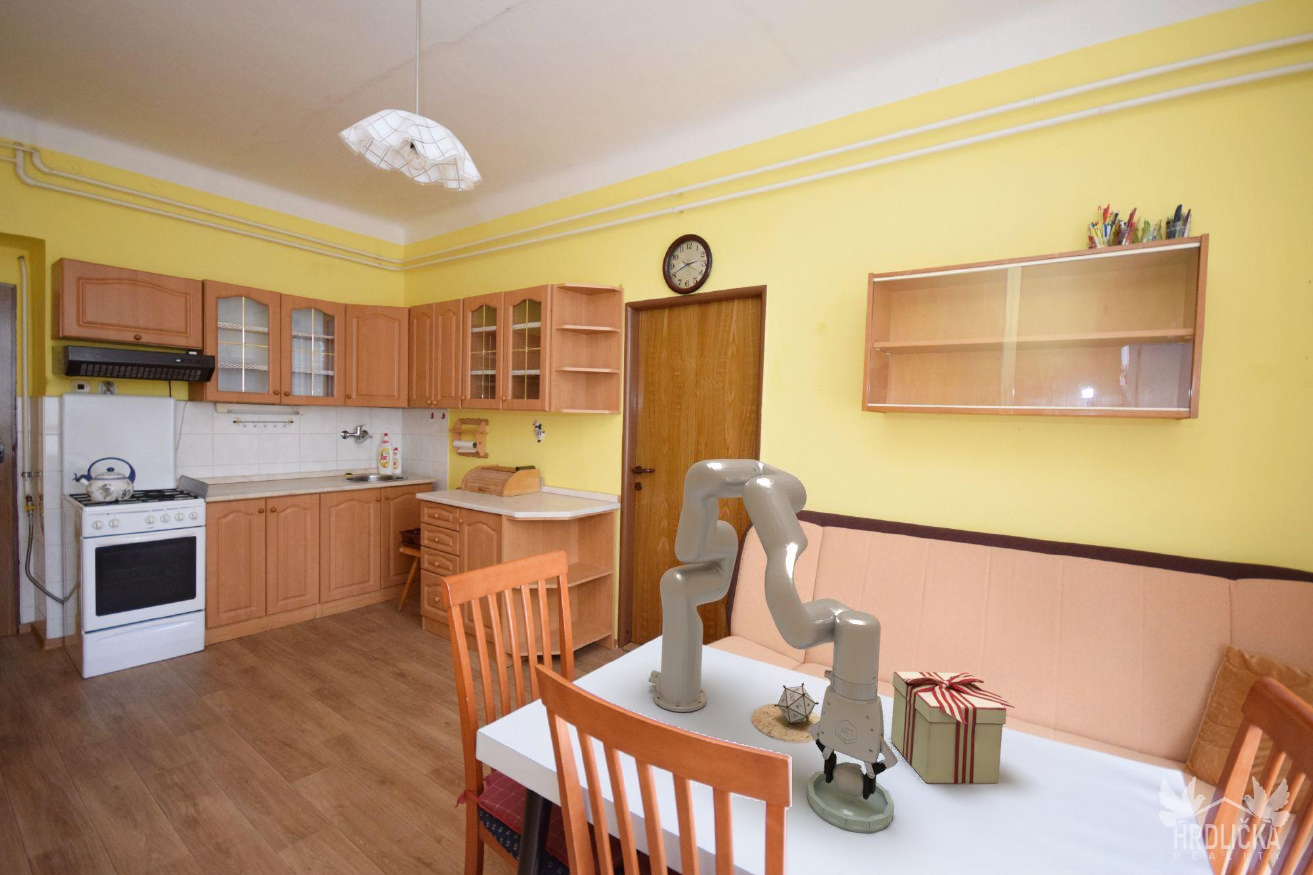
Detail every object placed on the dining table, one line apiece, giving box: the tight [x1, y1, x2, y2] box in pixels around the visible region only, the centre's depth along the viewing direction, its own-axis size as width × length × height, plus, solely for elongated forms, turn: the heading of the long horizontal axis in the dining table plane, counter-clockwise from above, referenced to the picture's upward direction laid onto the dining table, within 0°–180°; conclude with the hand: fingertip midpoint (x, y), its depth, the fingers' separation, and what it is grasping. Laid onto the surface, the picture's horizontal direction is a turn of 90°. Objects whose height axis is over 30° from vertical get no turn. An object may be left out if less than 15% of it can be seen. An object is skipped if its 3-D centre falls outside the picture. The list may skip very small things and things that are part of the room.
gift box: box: [890, 671, 1016, 785], centre depth 113 cm, size 17×18×17 cm
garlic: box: [832, 761, 866, 797], centre depth 100 cm, size 6×5×5 cm
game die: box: [773, 682, 820, 726], centre depth 128 cm, size 9×8×10 cm
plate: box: [806, 769, 895, 834], centre depth 100 cm, size 14×14×2 cm
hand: (848, 786), depth 101 cm, fingers closed on garlic, 5 cm apart
